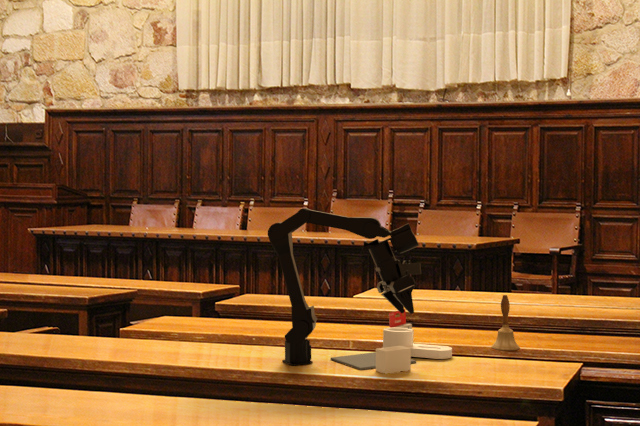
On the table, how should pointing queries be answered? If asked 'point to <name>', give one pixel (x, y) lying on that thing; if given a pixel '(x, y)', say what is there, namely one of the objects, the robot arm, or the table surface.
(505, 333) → the hand bell
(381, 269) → the robot arm
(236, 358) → the table surface
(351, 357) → the grey rubber mat
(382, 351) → the card deck box
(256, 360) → the table surface
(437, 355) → the bracket
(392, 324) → the ink cartridge box
